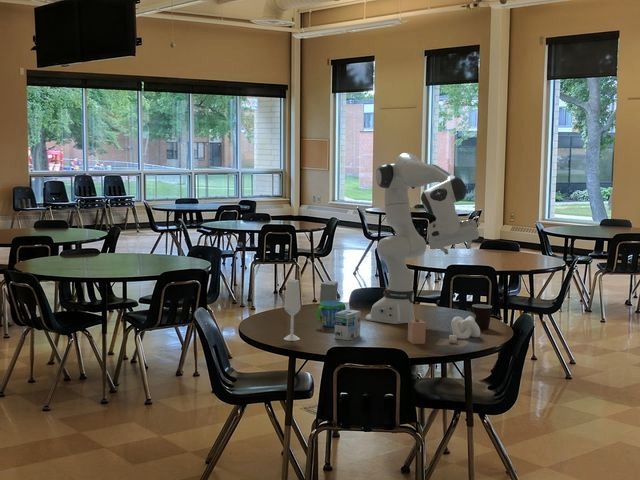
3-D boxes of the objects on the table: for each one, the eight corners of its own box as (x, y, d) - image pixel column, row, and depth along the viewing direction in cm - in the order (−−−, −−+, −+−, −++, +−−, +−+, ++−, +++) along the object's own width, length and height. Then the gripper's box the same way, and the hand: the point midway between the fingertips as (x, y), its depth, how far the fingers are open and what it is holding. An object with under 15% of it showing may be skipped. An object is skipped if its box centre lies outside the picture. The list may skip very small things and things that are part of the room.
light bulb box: (347, 340, 341) (348, 314, 339) (333, 338, 344) (334, 312, 343) (360, 336, 350) (361, 310, 348) (346, 333, 353) (347, 308, 352)
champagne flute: (284, 336, 346) (285, 278, 343) (301, 337, 345) (302, 279, 342) (282, 340, 339) (283, 281, 336) (298, 340, 338) (300, 282, 336)
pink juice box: (412, 345, 334) (413, 320, 333) (407, 341, 340) (408, 317, 339) (425, 344, 335) (426, 320, 334) (420, 341, 341) (421, 316, 340)
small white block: (448, 343, 336) (448, 336, 336) (449, 341, 339) (449, 334, 338) (455, 344, 335) (456, 336, 335) (457, 342, 338) (457, 335, 337)
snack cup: (322, 329, 359) (323, 306, 358) (309, 325, 368) (310, 302, 367) (352, 326, 368) (353, 303, 367) (338, 321, 377) (339, 299, 375)
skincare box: (323, 313, 394) (323, 280, 393) (337, 314, 392) (338, 281, 391) (318, 316, 386) (318, 282, 384) (333, 317, 384) (334, 283, 383)
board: (434, 347, 333) (435, 344, 333) (440, 340, 345) (440, 338, 344) (465, 350, 329) (465, 347, 329) (469, 343, 341) (470, 341, 341)
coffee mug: (491, 331, 364) (492, 308, 363) (470, 329, 366) (471, 307, 365) (491, 325, 376) (492, 303, 374) (471, 324, 377) (472, 302, 376)
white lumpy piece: (459, 342, 342) (460, 321, 341) (443, 336, 353) (444, 315, 352) (482, 340, 346) (483, 319, 345) (466, 334, 357) (467, 313, 356)
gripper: (474, 213, 333) (482, 239, 341) (424, 225, 339) (433, 251, 346) (475, 222, 328) (483, 249, 336) (424, 235, 334) (434, 261, 341)
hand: (458, 250), depth 341 cm, fingers open, 8 cm apart
